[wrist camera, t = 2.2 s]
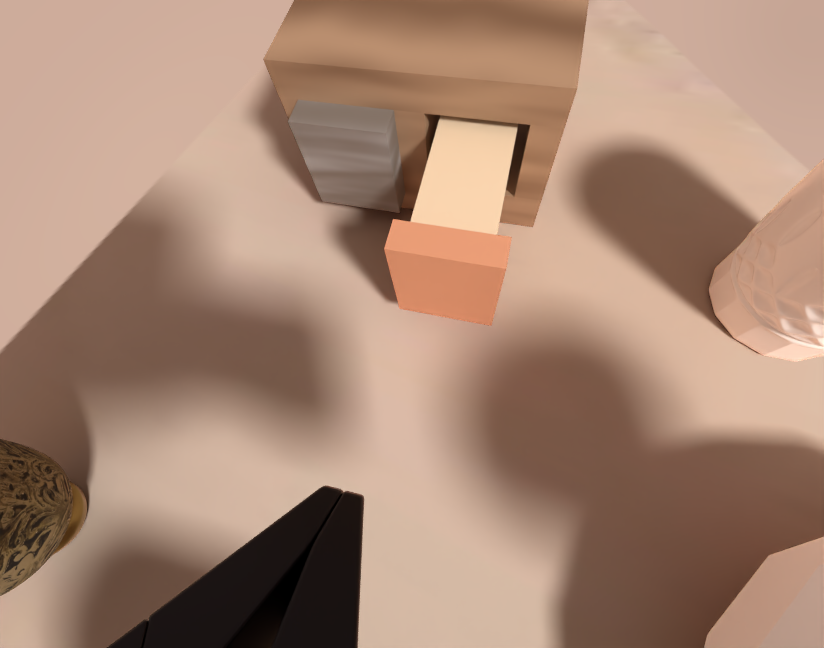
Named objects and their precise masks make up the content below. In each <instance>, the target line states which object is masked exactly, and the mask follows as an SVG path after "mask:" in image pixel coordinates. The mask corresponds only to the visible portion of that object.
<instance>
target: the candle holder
mask: <svg viewBox="0 0 824 648" xmlns="http://www.w3.org/2000/svg"><path fill="white" fill-rule="evenodd" d="M704 648H824V537H821V538H818V539H815V540H812V541H809V542H806V543H803V544H800V545H797V546H795V547H792V548H789V549H786V550H783V551H780V552H777V553H774V554H771V555H769V556H768V557H767V558H766V559H765V561H764V562H763V563H762V565H761V566H760V567H759V568H758V570H757V571H756V572H755V574H754V575H753V576H752V577H751V579H750V580H749V581H748V583H747V584H746V585H745V586H744V588H743V589H742V590H741V591H740V593H739V594H738V595H737V597H736V598H735V599H734V600H733V602H732V603H731V604H730V606H729V607H728V608H727V609H726V611H725V612H724V613H723V615H722V616H721V617H720V618H719V620H718V621H717V622H716V624H715V625H714V626H713V627H712V629H711V630H710V631H709V633H708V634H707V638H706V642H705V646H704Z"/></svg>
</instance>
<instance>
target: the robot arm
mask: <svg viewBox="0 0 824 648" xmlns="http://www.w3.org/2000/svg"><path fill="white" fill-rule="evenodd" d="M363 512H364V497H363V495H361V494H357V493H353V492H350V491H345V492H343V490H341V489H338V488H334V487H331V486H323V487H321V488H319V489H318V490H317V491H315V492H314V493H313V494H312V495H310V496H309V497H308V498H306V499H305V500H304V501H302V502H301V503H300V504H298V505H297V506H296V507H294V508H293V509H292V510H290V511H289V512H288V513H286V514H285V515H284V516H282V517H281V518H280V519H278V520H277V521H276V522H274V523H273V524H272V525H270V526H269V527H268V528H266V529H265V530H264V531H262V532H261V533H260V534H258V535H257V536H256V537H254V538H253V539H252V540H250V541H249V542H248V543H246V544H245V545H244V546H242V547H241V548H240V549H238V550H237V551H236V552H234V553H233V554H232V555H230V556H229V557H228V558H226V559H225V560H224V561H222V562H221V563H220V564H218V565H217V566H216V567H214V568H213V569H212V570H210V571H209V572H208V573H206V574H205V575H204V576H202V577H201V578H200V579H198V580H197V581H196V582H194V583H193V584H192V585H190V586H189V587H188V588H186V589H185V590H184V591H182V592H181V593H180V594H178V595H177V596H176V597H174V598H173V599H172V600H170V601H169V602H168V603H166V604H165V605H164V606H162V607H161V608H160V609H158V610H157V611H156V612H154V613H153V614H152V615H151V616H150V618H149V621H148V620H147V619H146V620H143V621H142V622H141V623H140V624H138V625H137V626H136V627H134V628H133V629H132V630H130V631H129V632H128V633H126V634H125V635H124V636H122V637H121V638H120V639H118V640H117V641H115V642H114V643H113V644H111V645H110V646H108V647H107V648H358V626H359V603H360V580H361V558H362V535H363Z"/></svg>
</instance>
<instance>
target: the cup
mask: <svg viewBox="0 0 824 648" xmlns="http://www.w3.org/2000/svg"><path fill="white" fill-rule="evenodd" d="M86 514H87V501H86V497H85V495H84V493H83V491H82V490H81V489H80V488H79V487H78V486H77V485H75V484H74V483H72V482H71V481H69V479H68V477H67V476H66V474H65V472H64V471H63V469H62V468H61V467H60V466H59V465H58V464H57V463H56V462H55V461H54V460H52V459H51V458H50V457H48V456H47V455H45V454H43V453H41V452H39V451H37V450H34V449H32V448H29V447H26V446H23V445H20V444H17V443H13V442H10V441H6V440H2V439H0V596H1V595H3V594H5V593H7V592H9V591H11V590H12V589H14V588H15V587H17V586H18V585H20V584H21V583H23V582H24V581H25V580H27V579H28V578H29V577H31V576H32V575H33V574H34V573H35V572H36V571H37V570H39V569H40V567H41V566H42V565H43V564H44V563H45V562H46V561H47V560H48V559H49V558H50V557H51V556H52V555H53V554H55V553H57V552H58V551H60V550H62V549H63V548H64V547H66V546H67V545H68V544H69V543H70V542H71V541H72V540H73V539H74V538H75V537H76V536H77V534H78V533H79V531H80V530H81V528H82V526H83V524H84V521H85V518H86Z"/></svg>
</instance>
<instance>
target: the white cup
mask: <svg viewBox="0 0 824 648" xmlns="http://www.w3.org/2000/svg"><path fill="white" fill-rule="evenodd" d="M709 294H710V298H711V302H712V306H713V310H714V314H715V316H716V317H717V318H718V319H719V321H720V322H721V323H722V324H723V325H724V327H725V328H726V329H727V330H728V332H729V333H730V334H731V335H732V337H733V338H735V339H736V340H738V341H740V342H741V343H743V344H745V345H746V346H748V347H750V348H751V349H753V350H755V351H756V352H758V353H760V354H761V355H765V356H770V357H775V358H780V359H785V360H790V361H801V360H806V359H811V358H815V357H820V356H824V159H823V160H822V161H821V162H820V163H819V164H818V165H817V166H815V167H814V168H813V169H812V170H811V171H810V172H809V173H808V174H807V175H806V176H805V177H804V178H803V179H802V180H801V181H800V182H799V183H798V184H797V185H796V186H795V187H793V188H792V189H791V190H790V191H789V192H788V193H787V194H786V195H785V196H784V197H783V198H782V199H781V200H780V202H779V203H778V204H777V205H776V206H775V207H774V208H773V209H772V210H771V211H770V212H769V213H768V214H767V215H766V216H765V217H764V218H763V219H762V220H761V221H760V222H759V223H758V224H757V225H756V226H755V227H754V228H753V229H752V230H751V231H750V233H749V234H748V236H747V237H746V238H745V240H744V241H743V242H742V243H741V244H740V245H739V246H738V247H737V248H736V249H735V250H734V251H733V252H732V253H730V254H729V255H728V256H727V257H726V258H725V259H724V260H723V261H722V262H721V263H720V264H719V265H718V266H717V267H716V268H715V270H714V273H713V276H712V280H711V283H710V286H709Z"/></svg>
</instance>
